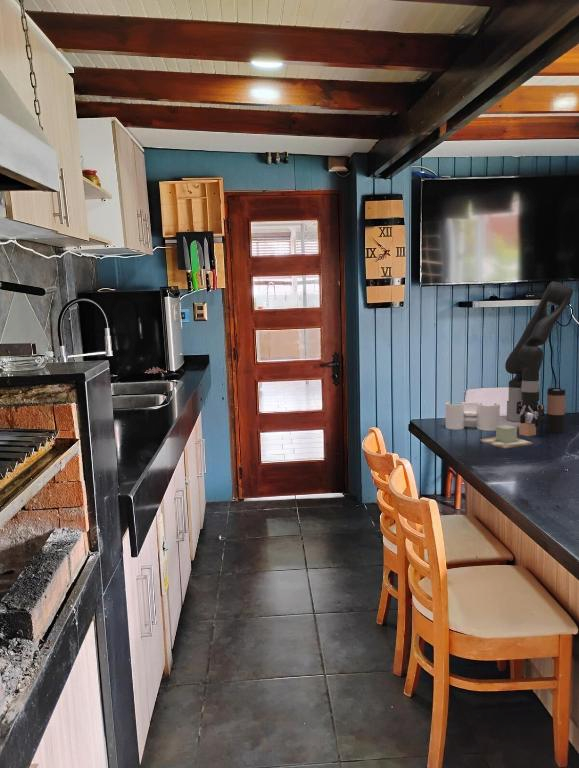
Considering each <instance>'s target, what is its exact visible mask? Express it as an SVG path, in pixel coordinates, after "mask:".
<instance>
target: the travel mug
mask: <svg viewBox="0 0 579 768" xmlns="http://www.w3.org/2000/svg"><path fill="white" fill-rule="evenodd" d="M546 395H547V396H546V432H547V433H549V434H557V435H558V434H564V431H565V417H566V414H565V413H566V389H565V388H564V389H562V388H559V387H550V388H547V391H546Z"/></svg>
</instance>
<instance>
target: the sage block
mask: <svg viewBox="0 0 579 768" xmlns="http://www.w3.org/2000/svg"><path fill="white" fill-rule="evenodd" d="M517 433H518V427H516V426H512V425H510V424H506V425H505V424H503V425H499V426H496V430H495V437H496V440H498V441H501V442H505V443H508V442H514V441H517V438H518V436H517V435H518V434H517Z"/></svg>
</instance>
